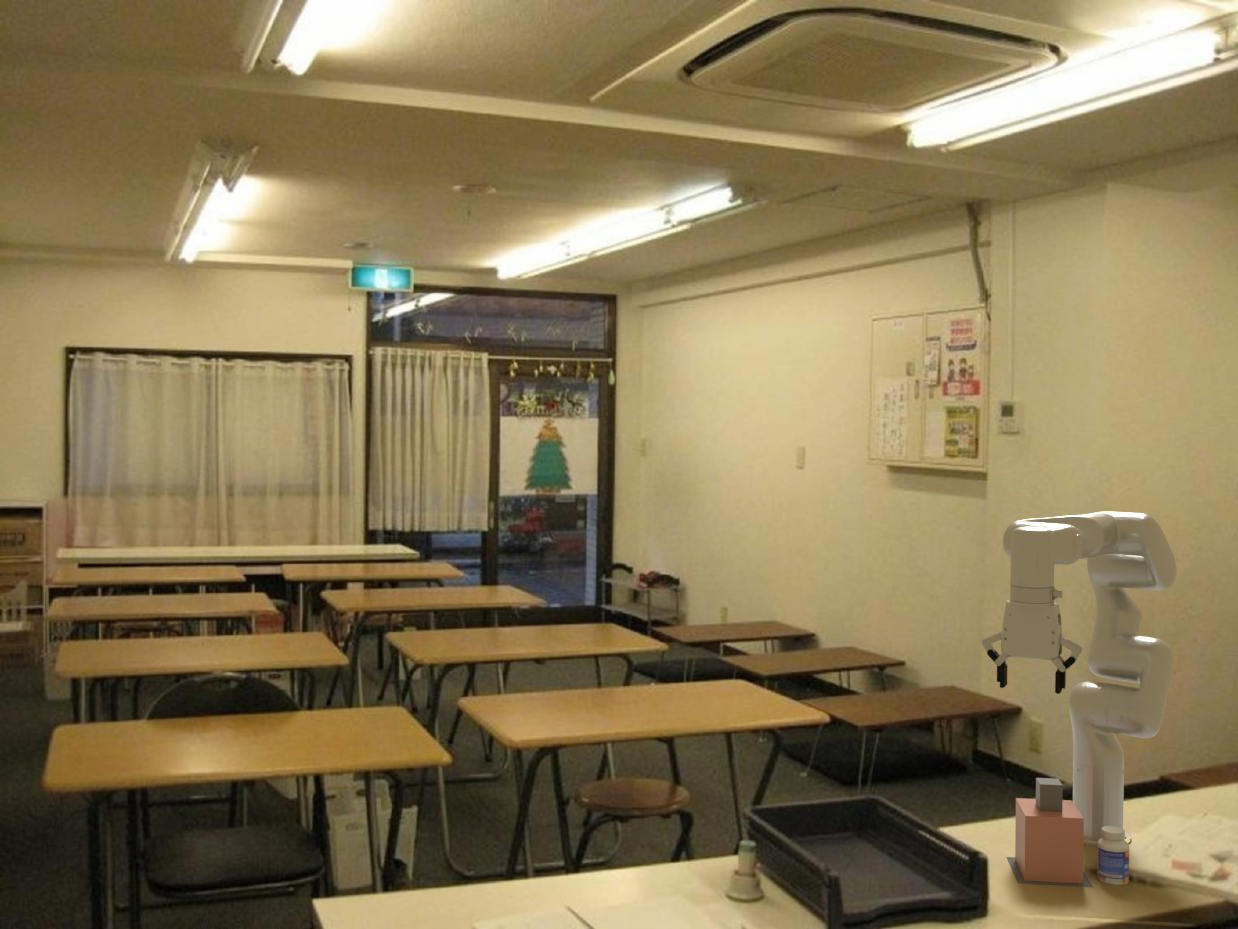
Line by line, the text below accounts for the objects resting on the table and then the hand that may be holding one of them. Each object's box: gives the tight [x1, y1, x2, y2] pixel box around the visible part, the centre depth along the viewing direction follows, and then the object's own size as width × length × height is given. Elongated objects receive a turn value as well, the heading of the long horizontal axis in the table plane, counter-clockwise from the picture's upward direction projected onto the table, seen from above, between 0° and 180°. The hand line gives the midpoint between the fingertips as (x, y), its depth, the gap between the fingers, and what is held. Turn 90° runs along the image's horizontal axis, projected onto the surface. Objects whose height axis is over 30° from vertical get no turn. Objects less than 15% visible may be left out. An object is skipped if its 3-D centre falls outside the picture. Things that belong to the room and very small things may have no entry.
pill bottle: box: [1096, 826, 1130, 886], centre depth 223 cm, size 5×5×10 cm
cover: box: [1014, 777, 1085, 883], centre depth 226 cm, size 10×10×17 cm
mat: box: [1006, 856, 1094, 888], centre depth 227 cm, size 13×13×1 cm
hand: (1030, 689), depth 221 cm, fingers open, 9 cm apart
